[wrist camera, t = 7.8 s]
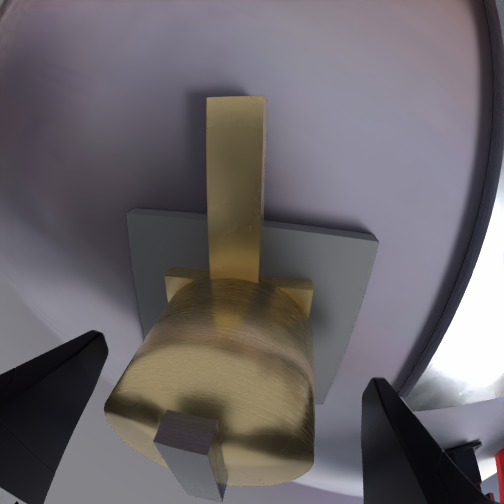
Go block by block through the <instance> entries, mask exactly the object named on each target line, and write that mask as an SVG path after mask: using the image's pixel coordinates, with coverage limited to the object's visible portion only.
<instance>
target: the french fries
mask: <svg viewBox="0 0 504 504" xmlns="http://www.w3.org/2000/svg"><path fill="white" fill-rule="evenodd" d="M495 460H496V466H497V473H498V480H499V492H500V503H504V449H503V450H501V451H500V452H499V453H498V454H497V455H496V457H495Z"/></svg>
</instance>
